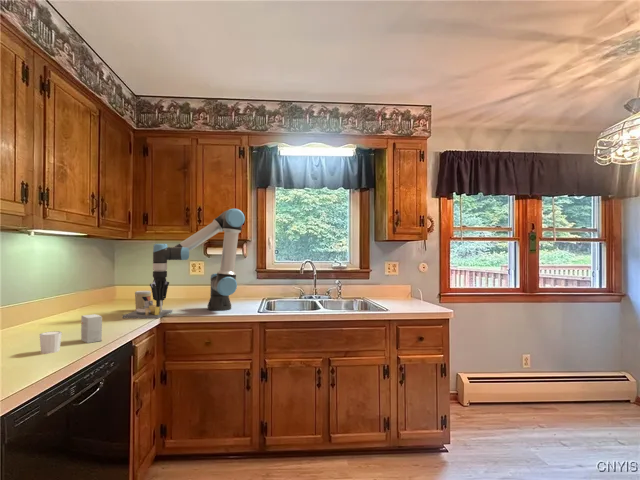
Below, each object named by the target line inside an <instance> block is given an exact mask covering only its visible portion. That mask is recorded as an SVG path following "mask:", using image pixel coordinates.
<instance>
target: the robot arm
mask: <svg viewBox="0 0 640 480" xmlns="http://www.w3.org/2000/svg"><path fill="white" fill-rule="evenodd" d="M245 219H246V218H245V214H244V213H243V211H242V210H240V209H239V208H230V209H227V210H225V211H223V212H222V213H221V214H219V216H217V217H216V218H214V219H213V220H212V222H210V223H209V224H208V225H206V226H204V227H203V228H201V229H200V230H198V231H197V232H194V234H192V235H190V236H189V237H187V238H186V239H184V240H182V241H181V242H179V243H177V244H176V245H175V246H172V247H170V246H168V244H167V243H154V244H153V248H152V270H153V271H152V277H153V281H152V283H149V287H150V288H151V296H152V299H153V300H152V301H156V304H155V305H156V306H159V312H162V310H163V304H164V301H165V300H166V297H167V292H168V288H169V285H170V282H169V281H167V278H168V271H167V270H168V261H187V260H189V259H190V252H191V251H193V250H194V249H196V248H197V247H199V246H200V245H201V244H203V243H205V242H206V241H207V240H209V239H211V238H212V237H214V236H215V235H217V234H219V233H223V232H224V234H223V243H222V252H221V258H220V268H219V271H217V273H212V274H211V275H210V293H209V294H210V297H209V300H208V304H207V311H229V310H231V309H232V303H231V299H230V296H232V295H233V294H234V293H235V292H236V291H237V290H238V289H237V288H238V283H237V273H236V272H235V269H236V268H235V267H236V259H237V251H238V250H237V249H238V240H239V234H240V233H241V232H242V229H243V228H242V227H243V224H244V223H245Z"/></svg>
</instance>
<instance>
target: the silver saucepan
mask: <svg viewBox="0 0 640 480" xmlns="http://www.w3.org/2000/svg"><path fill="white" fill-rule="evenodd" d="M145 308H149V314H153V315H159V306H156V304H154V300H150V301H145V307H143V308H138V309H136V308H135V311H136V313H138V314H145Z"/></svg>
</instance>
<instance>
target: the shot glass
mask: <svg viewBox="0 0 640 480" xmlns="http://www.w3.org/2000/svg"><path fill="white" fill-rule="evenodd" d="M62 335H63V333H62V331H55V330H54V331H47V332H41V333H40V334H39V342H40V343H39V344H40V354H47V355H49V354H53V353H58V352H60V350H61V349H60V348H61V342H62Z"/></svg>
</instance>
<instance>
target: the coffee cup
mask: <svg viewBox="0 0 640 480" xmlns="http://www.w3.org/2000/svg"><path fill="white" fill-rule="evenodd" d="M151 296H152V290H136V291H134V301H135V302H134V305H135V310H136V309H138V308H143V307H145V301H151Z"/></svg>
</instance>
